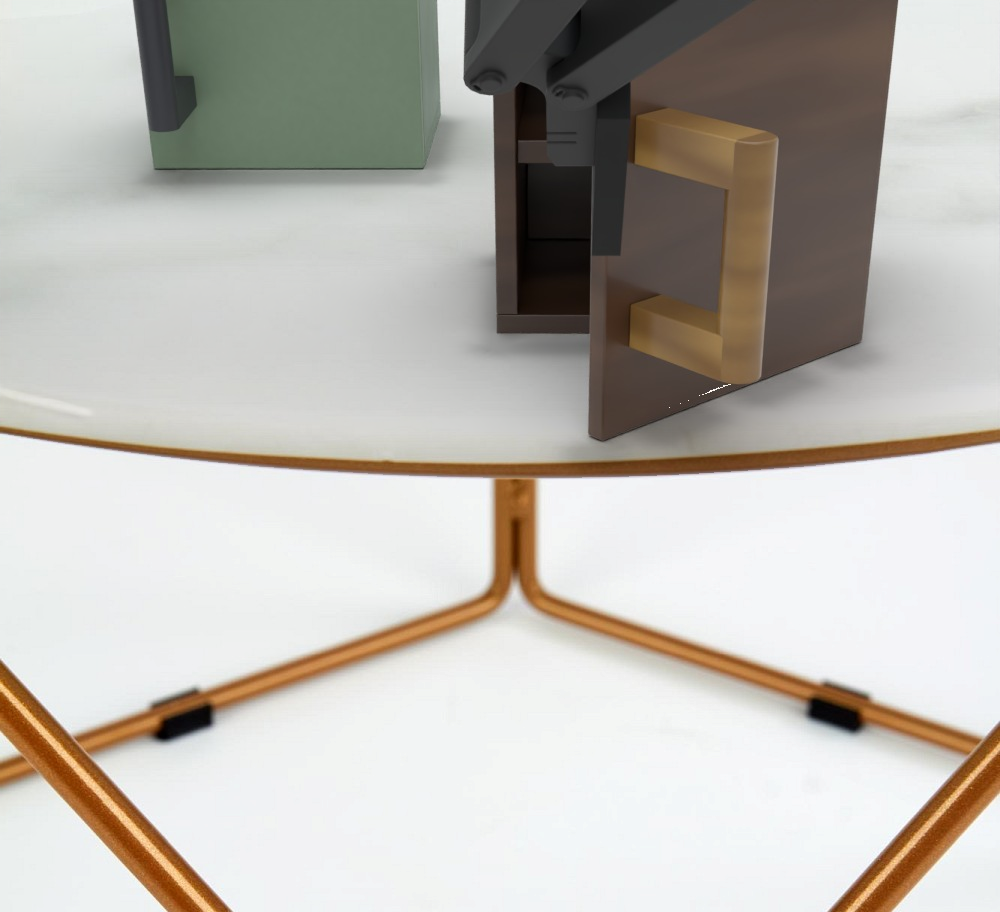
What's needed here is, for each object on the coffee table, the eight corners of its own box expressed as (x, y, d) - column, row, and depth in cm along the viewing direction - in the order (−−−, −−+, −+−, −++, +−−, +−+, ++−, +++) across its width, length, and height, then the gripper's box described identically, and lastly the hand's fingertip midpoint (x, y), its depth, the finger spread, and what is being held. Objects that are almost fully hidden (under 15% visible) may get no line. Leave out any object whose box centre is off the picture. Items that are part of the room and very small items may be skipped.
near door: (969, 377, 67) (1028, -25, 59) (709, 487, 59) (735, 40, 51) (847, 336, 71) (886, -46, 63) (587, 435, 63) (593, 12, 55)
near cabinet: (852, 337, 71) (892, -52, 63) (496, 335, 72) (490, -49, 64) (823, 253, 80) (855, -96, 72) (508, 252, 81) (504, -93, 73)
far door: (414, 197, 88) (402, -116, 80) (131, 197, 89) (90, -113, 81) (424, 164, 93) (413, -133, 85) (156, 165, 94) (120, -130, 86)
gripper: (238, -308, 24) (388, 341, 45) (2088, -331, 23) (1361, 343, 44) (261, -747, 25) (396, 80, 46) (2004, -785, 24) (1338, 76, 45)
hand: (865, 209), depth 45 cm, fingers open, 13 cm apart
